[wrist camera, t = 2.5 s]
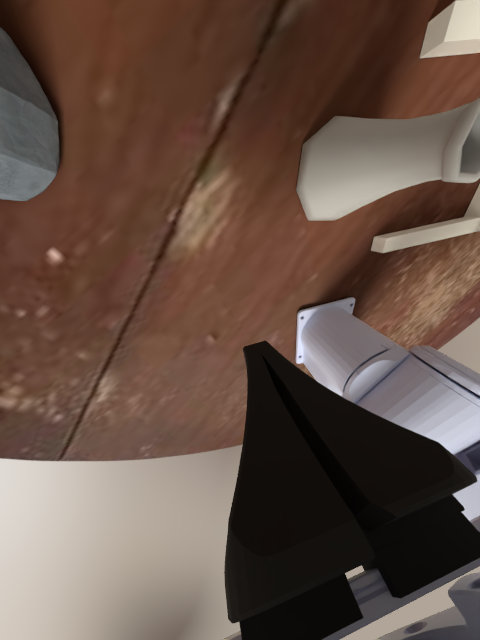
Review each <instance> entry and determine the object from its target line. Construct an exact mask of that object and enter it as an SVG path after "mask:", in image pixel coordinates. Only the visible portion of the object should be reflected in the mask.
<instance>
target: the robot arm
mask: <svg viewBox="0 0 480 640" xmlns="http://www.w3.org/2000/svg"><path fill="white" fill-rule="evenodd" d="M354 304H355V298H353V297H350V298H346V299H342V300H338V301H334V302H331V303H327V304H323V305H319V306H315V307H311V308H307V309H303V310H300V311H299V312H298V314H297V339H296V363H297V364H300V363H304V364H305V366H306V367H307V368H308V370H309V371H310V373H311V374H312V375H313V377H314V378H315V379H316V380H314V379H313V378H311V377H310V376H308V375H307V374H306V373H304V372H303V371H301V370H300V369H299V368H297V367H296V366H295V365H294V364H292V363H291V362H290V361H289V360H287V359H286V358H285V357H284V356H282V355H281V354H280V353H279V352H278V351H277V350H276V349H274V348H273V347H272V346H271V345H270V344H269V343H268V342H267V341H263V342H259V343H256V344H252V345H249V346H245V347H244V348H243V352H244V357H245V362H246V367H247V377H248V395H247V412H246V423H245V432H244V440H243V447H242V453H241V459H240V465H239V471H238V477H237V483H236V488H235V492H234V497H233V502H232V507H231V512H230V517H229V523H228V536H227V545H226V556H225V589H226V599H227V609H228V619H229V620H230V621H231V622H232V623H236V622H239V621H240V628H241V631H239V632H237V633H235V634H233V635H231V636H229V637H227V638H225V639H223V640H339V639H341V638H343V637H345V636H347V635H349V634H351V633H353V632H354V631H356V630H358V629H360V628H362V627H364V626H366V625H368V624H370V623H371V622H374V621H376V620H378V619H379V618H381V617H383V616H385V615H387V614H389V613H391V612H393V611H395V610H396V609H399V608H400V607H402V606H404V605H406V604H408V603H410V602H412V601H414V600H416V599H418V598H420V597H421V596H423V595H425V594H427V593H429V592H431V591H433V590H435V589H437V588H439V587H441V586H442V585H444V584H446V583H448V582H450V581H452V580H454V579H456V578H458V577H460V576H461V575H464V574H465V573H467V572H469V571H471V570H473V569H475V568H477V567H479V566H480V374H479V373H477V372H475V371H473V370H471V369H470V368H468V367H466V366H464V365H462V364H461V363H459V362H457V361H456V360H453V359H452V358H450V357H448V356H447V355H444V354H443V353H441V352H439V351H438V350H436V349H434V348H432V347H430V346H428V345H421V346H418V345H414V346H413V347H411V348H410V350H407V349H405V348H403V347H401V346H400V345H398V344H397V343H395V342H393V341H392V340H390V339H389V338H387V337H386V336H384V335H383V334H381V333H380V332H378V331H376V330H375V329H373V328H372V327H370V326H369V325H367V324H366V323H364V322H363V321H361V320H359V319H358V318H356V317H355V316H353V315H352V313H353V308H354ZM302 316H303V317H302ZM301 317H302V318H301ZM361 565H362V566H363V568H364V570H365V571H364V572H362V573H360V574H358V575H356V576H353V577H352V578H349V579H347V577H346V575H345V573H346V572H348V571H350V570H352V569H354V568H356V567H358V566H361ZM448 594H449V597H450V598H451V599H452V601H453V602H454V604H455V606H454V607H452V608H449V609H447V610H444V611H442V612H439V613H437V614H435V615H432V616H430V617H427V618H424V619H422V620H420V621H417V622H415V623H412V624H410V625H407V626H405V627H403V628H400V629H398V630H395V631H393V632H391V633H388V634H386V635H384V636H382V637H380V638H378V639H376V640H480V573H474V574H470V575H467V576H464V577H462V578H460V579H459V580H458V581H457V582H456V583H455V584H454V585H453V586H452V587H451V588H450V589H449V590H448Z"/></svg>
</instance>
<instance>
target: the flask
mask: <svg viewBox="0 0 480 640" xmlns="http://www.w3.org/2000/svg"><path fill="white" fill-rule="evenodd" d="M479 178H480V97H479V98H478V99H477V100H475V101H473V102H471V103H468V104H465V105H463V106H460V107H457V108H455V109H452V110H449V111H447V112H444V113H439V114H433V115H428V116H423V117H418V118H413V119H408V120H402V119H367V118H356V117H346V116H334V117H333V118H332V119H331V120H330V121H329V122H328V123H326V124H325V125H324V126H323V127H322V128H321V129H320V130H319V131H318V132H316V133H315V134H314V135H313V136H312V137H311V138H310V139H309V140H307V141H306V142H305V143H304V144H303V147H302V154H301V161H300V168H299V174H298V181H297V188H296V191H297V193H298V196H299V198H300V201H301V203H302V206H303V208H304V211H305V214H306V216H307V219H308V221H335V220H337V219H339V218H341V217H343V216H345V215H347V214H349V213H351V212H353V211H355V210H356V209H358V208H360V207H362V206H364V205H367V204H369V203H371V202H373V201H375V200H377V199H379V198H381V197H384V196H386V195H388V194H390V193H392V192H394V191H397V190H400V189H404V188H407V187H410V186H414V185H417V184H420V183H424V182H427V181H433V180H440V179H442V181H445V182H457V183H473V182H475V181H477V180H478V179H479Z"/></svg>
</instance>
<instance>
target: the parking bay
mask: <svg viewBox="0 0 480 640" xmlns="http://www.w3.org/2000/svg"><path fill="white" fill-rule="evenodd" d="M472 53H480V0H456V1H454V2H453V3H452V4H451V5H449V6H448V7H447V8H446V9H444V10H443V11H442V12H441V13H439V14H438V15H437V16H436V17H434V18H433V19H432V20H431V21H429V22H428V26H427V30H426V34H425V38H424V42H423V46H422V50H421V54H420V58H429V57H439V56H450V55H461V54H472ZM477 231H480V184H479V186H478V188H477V190H476V193H475V195H474V197H473V199H472V201H471V203H470V205H469V207H468V209H467V211H466V213H465V215H464V217H462V218H457V219H453V220H448V221H444V222H439V223H434V224H430V225H425V226H421V227H416V228H411V229H407V230H402V231H398V232H393V233H388V234H384V235H379V236H375V237H374V239H373V243H372V247H371V251H374V252H379V253H386V252H390V251H394V250H399V249H403V248H407V247H412V246H416V245H420V244H425V243H429V242H433V241H438V240H442V239H446V238H451V237H455V236H459V235H464V234H468V233H472V232H477Z"/></svg>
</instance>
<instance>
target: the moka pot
mask: <svg viewBox="0 0 480 640" xmlns="http://www.w3.org/2000/svg"><path fill="white" fill-rule="evenodd" d="M59 160H60V159H59V136H58V121H57V118H56V115H55V113H54V111H53V109H52V107H51V105H50V103H49V101H48V98H47V97H46V95H45V93H44V92H43V90H42V88H41V85H40V83H39V82H38V80H37V78H36V77H35V75H34V74H33V72H32V70H31V68H30V66H29V65H28V63H27V62H26V61H25V59H24V58H23V56H22V55H21V53H20V52H19V50H18V49H17V47H16V46H15V44H14V43H13V41H12V40H11V38H10V37H9V35H8V34H7V33H6V32H5V31H4V30H3V29H2V28H1V27H0V199H4V200H15V201H27V200H29V199H31V198H33V197H35V196H37V195H38V194H40V193H42V192H43V191H44V190H45V189H46V188H47V187H48V186H49V184H50V183H51V182H52V180H53V179H54V178H55V176H56V174H57V170H58V166H59Z"/></svg>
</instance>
